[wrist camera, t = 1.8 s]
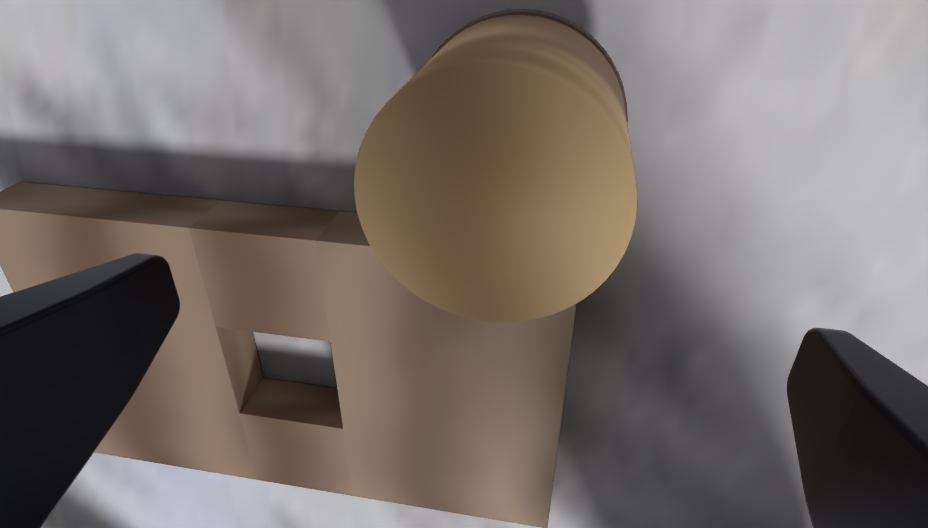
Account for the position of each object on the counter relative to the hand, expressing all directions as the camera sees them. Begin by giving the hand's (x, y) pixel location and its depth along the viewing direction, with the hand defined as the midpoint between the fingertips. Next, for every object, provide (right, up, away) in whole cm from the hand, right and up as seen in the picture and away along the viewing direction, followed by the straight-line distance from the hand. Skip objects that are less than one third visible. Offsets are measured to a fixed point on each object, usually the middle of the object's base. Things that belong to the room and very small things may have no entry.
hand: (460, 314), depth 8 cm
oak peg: (+2, +5, +8) cm, 10 cm away
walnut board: (-6, -2, +15) cm, 16 cm away
